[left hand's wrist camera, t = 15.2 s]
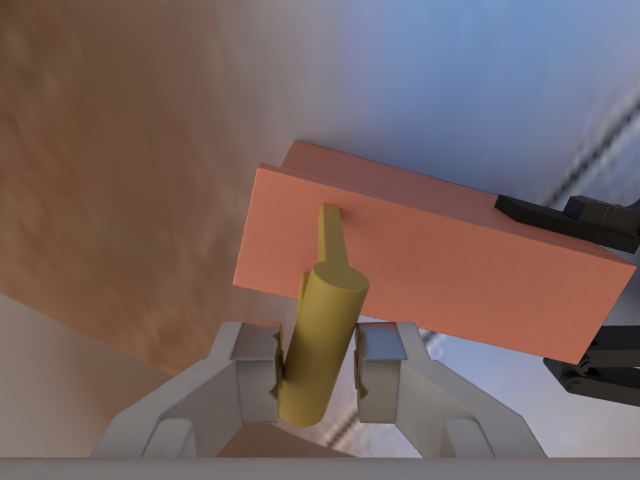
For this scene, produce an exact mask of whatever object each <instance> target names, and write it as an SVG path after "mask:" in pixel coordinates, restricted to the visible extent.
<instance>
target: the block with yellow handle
mask: <svg viewBox="0 0 640 480" xmlns="http://www.w3.org/2000/svg"><path fill="white" fill-rule="evenodd" d="M636 269H637V267H636V266H634V265H633V264H631V263H629V262H627V261H625V260H624V259H622V258H618V257H614V256H610V255H607V254H603V253H599V252H595V251H592V250H588V249H584V248H580V247H577V246H573V245H569V244H565V243H561V242H558V241H554V240H550V239H546V238H543V237H539V236H535V235H531V234H527V233H524V232H520V231H516V230H512V229H509V228H505V227H501V226H497V225H494V224H490V223H486V222H482V221H478V220H475V219H471V218H467V217H463V216H460V215H456V214H452V213H448V212H444V211H441V210H437V209H433V208H429V207H426V206H422V205H418V204H414V203H410V202H407V201H403V200H399V199H395V198H392V197H388V196H384V195H380V194H377V193H373V192H369V191H365V190H361V189H358V188H354V187H350V186H346V185H343V184H339V183H335V182H331V181H327V180H324V179H320V178H316V177H312V176H309V175H305V174H301V173H297V172H293V171H290V170H286V169H282V168H278V167H275V166H271V165H267V164H263V163H261V164H260V165H259V166H258V168H257V172H256V176H255V181H254V186H253V191H252V195H251V200H250V205H249V209H248V214H247V219H246V224H245V228H244V233H243V238H242V243H241V247H240V252H239V257H238V261H237V266H236V271H235V276H234V280H233V285H235V286H240V287H244V288H248V289H252V290H257V291H261V292H265V293H270V294H274V295H278V296H283V297H287V298H291V299H296V300H298V305H297V316H296V325H295V328H294V332H293V335H292V339H291V342H290V346H289V349H288V353H287V356H286V360H285V363H284V375H283V387H282V389H281V390H280V396H281V403H280V411H279V415H280V416H281V417H282V418H283V419H284V420H286V421H287V422H289V423H291V424H293V425H297V426H304V427H306V426H312V425H315V424H317V423H318V422H319V421H320V420H321V419H322V418H323V417H324V414H325V411H326V408H327V406H328V403H329V400H330V397H331V394H332V391H333V389H334V386H335V383H336V380H337V377H338V374H339V372H340V369H341V366H342V363H343V360H344V357H345V355H346V352H347V349H348V346H349V343H350V340H351V338H352V335H353V332H354V329H355V326H356V323H357V320H358V318H359V315H365V316H369V317H373V318H378V319H382V320H386V321H391V322H401V321H413V322H415V323H416V326H417V328H421V329H425V330H429V331H434V332H438V333H442V334H447V335H451V336H455V337H460V338H464V339H468V340H473V341H477V342H481V343H485V344H490V345H494V346H498V347H503V348H507V349H511V350H516V351H520V352H524V353H529V354H533V355H537V356H542V357H546V358H550V359H555V360H559V361H563V362H567V363H572V364H576V365H577V364H578V363H579V361H580V360H581V358H582V357H583V355H584V353H585V352H586V350H587V348H588V347H589V345H590V344H591V342H592V340H593V339H594V337H595V335H596V334H597V332H598V331H599V329H600V327H601V326H602V324H603V322H604V321H605V319H606V318H607V316H608V314H609V313H610V311H611V309H612V308H613V306H614V304H615V303H616V301H617V300H618V298H619V296H620V295H621V293H622V291H623V290H624V288H625V287H626V285H627V283H628V282H629V280H630V278H631V277H632V275H633V274H634V272H635V270H636Z"/></svg>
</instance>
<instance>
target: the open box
mask: <svg viewBox="0 0 640 480" xmlns="http://www.w3.org/2000/svg"><path fill="white" fill-rule="evenodd" d="M280 168H282V169H286V170H290V171H293V172H297V173H301V174H305V175H309V176H312V177H316V178H320V179H324V180H327V181H331V182H335V183H339V184H343V185H346V186H350V187H354V188H358V189H361V190H365V191H369V192H373V193H377V194H380V195H384V196H388V197H392V198H395V199H399V200H403V201H407V202H410V203H414V204H418V205H422V206H426V207H429V208H433V209H437V210H441V211H444V212H448V213H452V214H456V215H460V216H463V217H467V218H471V219H475V220H478V221H482V222H486V223H490V224H494V225H497V226H501V227H505V228H509V229H512V230H516V231H520V232H524V233H527V234H531V235H535V236H539V237H543V238H546V239H550V240H554V241H558V242H561V243H565V244H569V245H573V246H577V247H580V248H584V249H588V250H592V251H595V252H599V253H603V254H607V255H610V256H614V257H618V256H616V255H615V254H613V253H611V252H609V251H607V250H606V249H604V248H602V247H600V246H598V245H597V244H595V243H593V242H589V241H586V240H582V239H578V238H574V237H571V236H567V235H563V234H559V233H556V232H552V231H548V230H545V229H541V228H537V227H533V226H530V225H526V224H522V223H519V222H516V221H514V220H513V219H511V218H510V217H508V216H507V215H505V214H504V213H502V212H501V211H499V210H498V209H496V208H495V207H494V205H495V203H496V200H497V198H498V195H495V194H491V193H487V192H484V191H480V190H476V189H473V188H469V187H465V186H462V185H458V184H454V183H451V182H447V181H443V180H440V179H436V178H433V177H429V176H425V175H422V174H418V173H414V172H411V171H407V170H403V169H400V168H396V167H392V166H389V165H385V164H382V163H378V162H374V161H371V160H367V159H363V158H360V157H356V156H352V155H349V154H345V153H341V152H338V151H334V150H330V149H327V148H323V147H320V146H316V145H312V144H309V143H305V142H301V141H298V140H294V142H293V144H292V146H291V148H290V150H289V152H288V154H287V156H286V157H285V159H284V161H283V163H282V165H281V167H280ZM618 258H620V257H618Z"/></svg>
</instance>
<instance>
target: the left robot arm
mask: <svg viewBox="0 0 640 480" xmlns="http://www.w3.org/2000/svg"><path fill="white" fill-rule="evenodd" d="M282 342H283V326H282V322H246V321H244V322H243V321H225V322H223V323H222V325H221V327H220V329H219V332H218V334H217V336H216V339H215V341H214V344H213V346H212V348H211V351H210V353H209V355H208V358H207V360H200V361H198V362H197V363H195V364H194V365H192V366H191V367H189V368H188V369H186V370H185V371H183V372H182V373H180V374H179V375H177V376H175V377H174V378H172V379H171V380H169V381H168V382H166V383H165V384H163V385H162V386H160V387H159V388H157V389H156V390H154V391H153V392H151V393H150V394H148V395H146V396H145V397H143V398H142V399H140V400H139V401H137V402H136V403H134V404H133V405H131V406H130V407H128V408H127V409H125V410H124V411H122V412H121V413H119V414H117V415H116V416H115V417H114V418H113V420H112V422H111V423H110V425H109V426H108V428H107V429H106V431H105V432H104V434H103V436H102V437H101V439H100V440H99V442H98V444H97V445H96V447H95V448H94V450H93V451H92V453H91V455H90V456H89V458H0V480H640V458H548V457H547V455H546V454H545V452H544V451H543V449H542V447H541V446H540V444H539V442H538V441H537V439H536V438H535V436H534V434H533V433H532V431H531V430H530V428H529V426H528V425H527V423H526V421H525V420H524V418H523V417H522V416H521V415H519V414H518V413H516V412H515V411H513V410H512V409H510V408H509V407H507V406H506V405H504V404H503V403H501V402H499V401H498V400H496V399H495V398H493V397H492V396H490V395H489V394H487V393H486V392H484V391H483V390H481V389H480V388H478V387H477V386H475V385H474V384H472V383H471V382H469V381H468V380H466V379H465V378H463V377H462V376H460V375H459V374H457V373H456V372H454V371H453V370H451V369H450V368H448V367H447V366H445V365H444V364H442V363H441V362H439V361H438V360H431V359H430V357H429V354H428V352H427V349H426V347H425V345H424V342H423V340H422V337H421V335H420V333H419V330H418V328H417V326H416V323H415V322H413V321H401V322H370V323H356V326H355V342H356V350H355V351H354V378H355V388H356V389H357V405H358V412H359V420H360V423H388V424H395V426H396V427H397V428H398V429H399V430H400V431H401V432H402V434H403V435H404V436H405V437H406V438H407V439H408V441H409V442H410V443H411V444H412V445H413V446H414V447H415V449H416V450H417V451H418V452H419V453H420V454H421V456H422V457H423V458H214V457H215V456H216V455H217V454H218V453H219V452H220V451H221V449H222V448H223V447H224V446H225V445H226V444H227V443H228V441H229V440H230V439H231V438H232V437H233V436H234V435H235V433H236V432H237V431H238V430H239V429H240V428H241V427H242V424H250V423H278V418H279V411H280V403H281V396H280V390H281V389H282V387H283V375H284V351H283V350H282Z"/></svg>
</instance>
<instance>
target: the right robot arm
mask: <svg viewBox="0 0 640 480" xmlns="http://www.w3.org/2000/svg"><path fill="white" fill-rule="evenodd" d="M494 207H495V208H496V209H498V210H499V211H501V212H502V213H504V214H505V215H507V216H508V217H510V218H511V219H513V220H514V221H516V222H519V223H522V224H526V225H530V226H533V227H537V228H541V229H545V230H548V231H552V232H556V233H559V234H563V235H567V236H571V237H574V238H578V239H582V240H586V241H589V242H593V243H595V244H598V245H602V246H606V247H609V248H613V249H617V250H621V251H624V252H628V253H632V254H634V253H635V252H636V250H637V248H638V247H639V245H640V199H639V200H638V201H637V202H635V203H634V204H632V205H630V206H627V207H623V206H620V205H613V204H609V203H605V202H602V201H598V200H595V199H591V198H588V197H584V196H572V197H570V199H569V201H568V202H567V204H566V206H565V208H564V210H563V212H561V211H558V210H554V209H550V208H547V207H543V206H540V205H536V204H532V203H529V202H525V201H522V200H518V199H514V198H511V197H507V196H503V195H500V194H499V196H498V198H497V200H496V203H495V205H494ZM543 362H544V364H545V365H546V367H547V368H548V369H549V370H550V372H551V373H552V374H553V375H554V377H555V378H556V379H557V380H558V381H559V383H560V384H561V385H562V386H563V387H564V389H565V390H566V391H567V392H569V393H572V394H577V395H582V396H587V397H592V398H597V399H603V400H608V401H613V402H618V403H623V404H628V405H633V406H638V407H640V369H639V368H634V367H640V326H601V327H600V329H599V331H598V332H597V334H596V335H595V337H594V339H593V340H592V342H591V344H590V345H589V347H588V348H587V350H586V352H585V353H584V355H583V357H582V358H581V360H580V361H579V363H578V364H577V365H576V364H572V363H567V362H563V361H559V360H555V359H550V358H546V357H544V359H543Z"/></svg>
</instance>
